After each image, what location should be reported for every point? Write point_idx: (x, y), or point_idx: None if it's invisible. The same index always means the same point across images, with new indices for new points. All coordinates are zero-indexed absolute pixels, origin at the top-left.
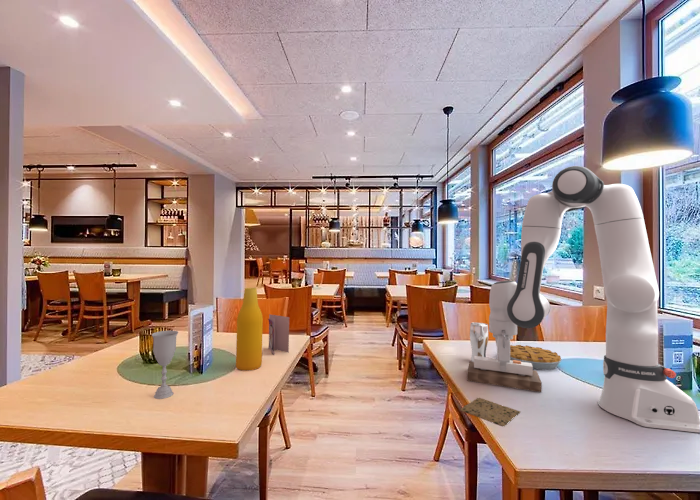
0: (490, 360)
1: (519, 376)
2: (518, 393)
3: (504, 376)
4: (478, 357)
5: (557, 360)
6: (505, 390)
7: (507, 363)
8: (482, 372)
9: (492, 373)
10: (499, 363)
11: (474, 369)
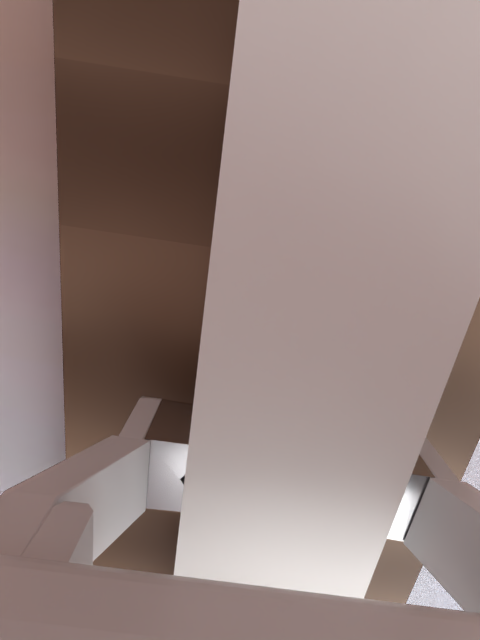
0: (251, 320)
1: (157, 527)
2: (3, 422)
3: (88, 399)
4: (456, 31)
5: None
6: (16, 343)
7: (177, 555)
8: (127, 145)
9: (140, 283)
10: (189, 446)
11: (228, 15)
